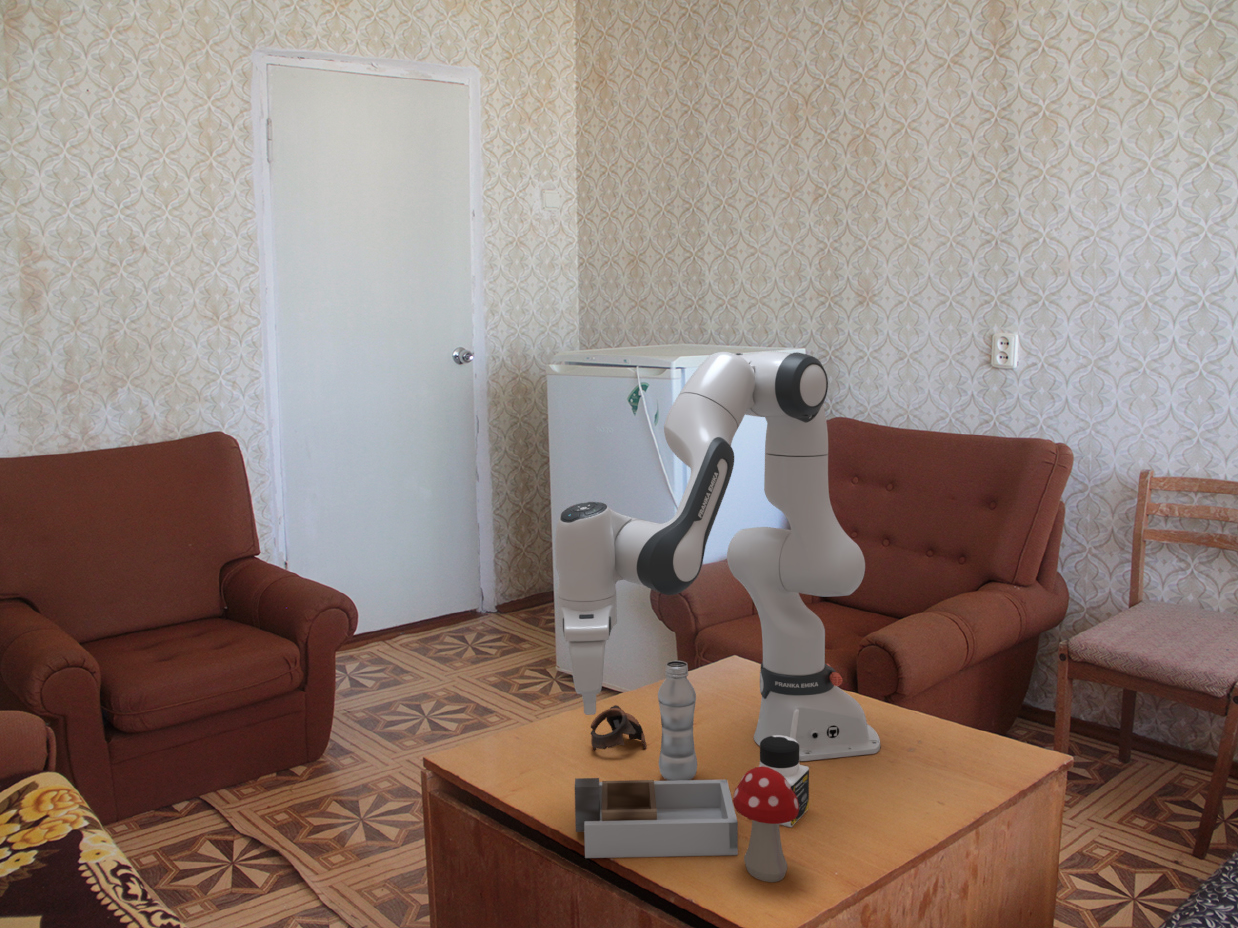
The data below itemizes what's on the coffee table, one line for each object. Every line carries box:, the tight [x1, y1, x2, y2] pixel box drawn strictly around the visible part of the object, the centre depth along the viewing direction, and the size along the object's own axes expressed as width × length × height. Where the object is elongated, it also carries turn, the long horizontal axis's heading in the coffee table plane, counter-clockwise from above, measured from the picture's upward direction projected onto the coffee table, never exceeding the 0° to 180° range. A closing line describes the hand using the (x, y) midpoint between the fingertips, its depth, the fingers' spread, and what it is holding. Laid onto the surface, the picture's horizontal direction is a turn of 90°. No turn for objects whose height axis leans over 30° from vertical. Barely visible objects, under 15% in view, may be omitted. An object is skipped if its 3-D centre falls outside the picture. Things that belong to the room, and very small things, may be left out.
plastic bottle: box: [657, 660, 698, 781], centre depth 173 cm, size 6×7×20 cm
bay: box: [583, 779, 739, 859], centre depth 156 cm, size 22×14×5 cm, turn 90°
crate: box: [574, 777, 657, 833], centre depth 155 cm, size 12×10×7 cm
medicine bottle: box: [757, 735, 810, 828], centre depth 161 cm, size 7×7×12 cm
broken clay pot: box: [590, 704, 648, 751], centre depth 188 cm, size 12×10×8 cm
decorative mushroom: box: [732, 766, 799, 883], centre depth 144 cm, size 10×9×15 cm
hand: (590, 700), depth 156 cm, fingers open, 8 cm apart
